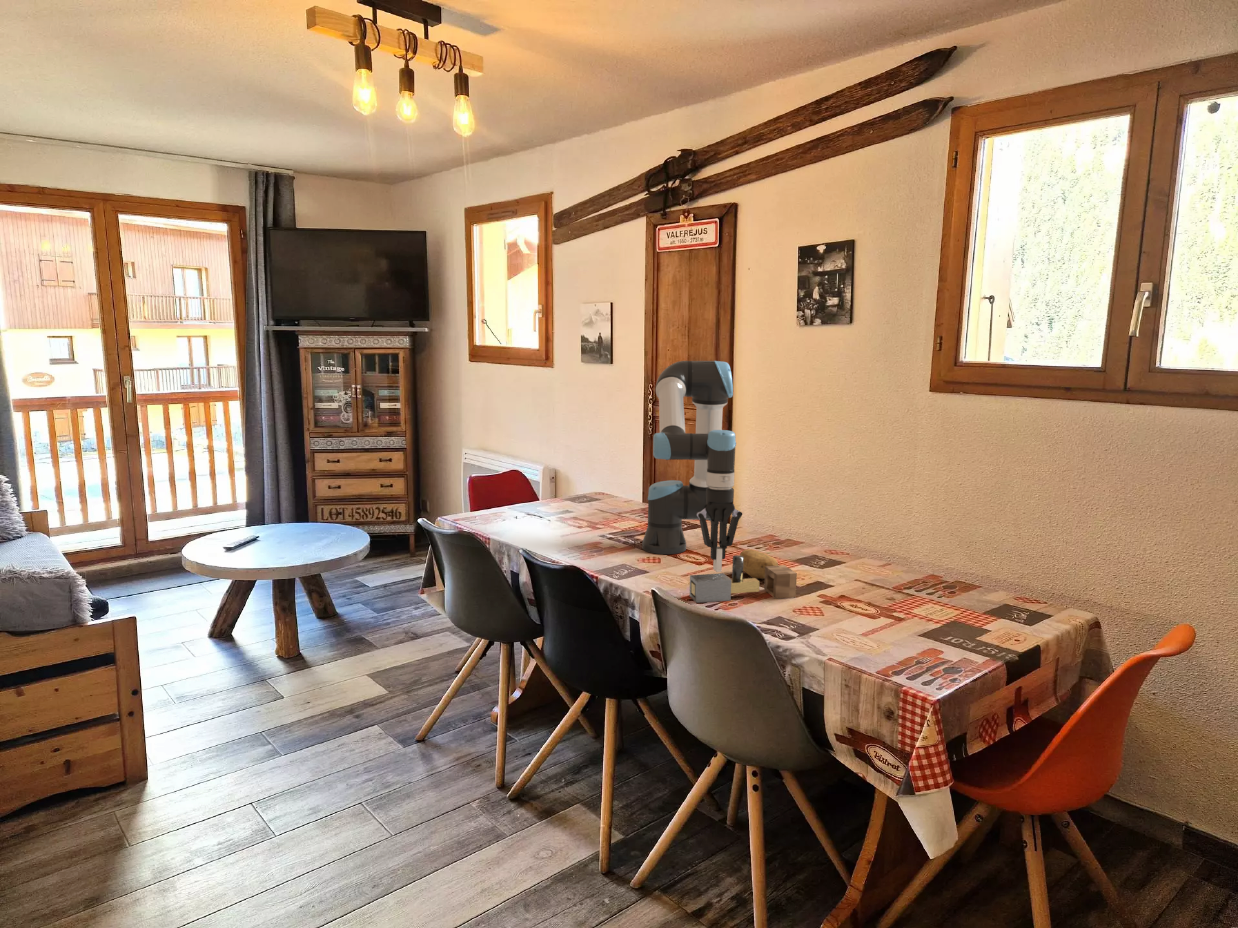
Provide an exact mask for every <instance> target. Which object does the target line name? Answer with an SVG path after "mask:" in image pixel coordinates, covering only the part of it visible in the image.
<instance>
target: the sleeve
mask: <svg viewBox="0 0 1238 928" xmlns="http://www.w3.org/2000/svg"><path fill="white" fill-rule="evenodd" d="M731 580H732V578H730V577H729V576H727V575H726V574H725V572H724V573H721V572H719V573H707V574H706V573H705V574H704V573H703V574H690V575H689V595H688V596H689V597H690V598H691V600H693V602H695V603H696V604H699V603H715V602H728V601H729V602H730V601H731V600H732V599H731V598H732V593H731ZM692 582H694V583H695V584H696V588H695V596H694V595H693V594H692V593H691V583H692ZM731 602H732V601H731Z"/></svg>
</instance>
